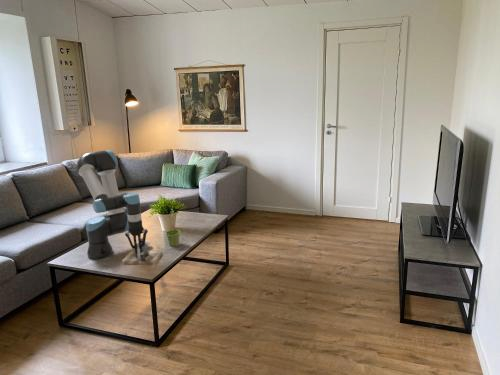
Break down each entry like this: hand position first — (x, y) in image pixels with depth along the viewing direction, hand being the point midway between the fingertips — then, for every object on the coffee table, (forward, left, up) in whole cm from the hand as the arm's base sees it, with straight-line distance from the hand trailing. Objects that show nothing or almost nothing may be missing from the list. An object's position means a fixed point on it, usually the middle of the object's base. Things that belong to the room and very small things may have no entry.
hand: (139, 257), depth 221 cm
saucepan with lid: (0, +5, -2) cm, 5 cm away
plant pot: (+13, +29, -5) cm, 32 cm away
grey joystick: (-6, +23, -5) cm, 25 cm away
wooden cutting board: (-1, +8, -5) cm, 10 cm away
